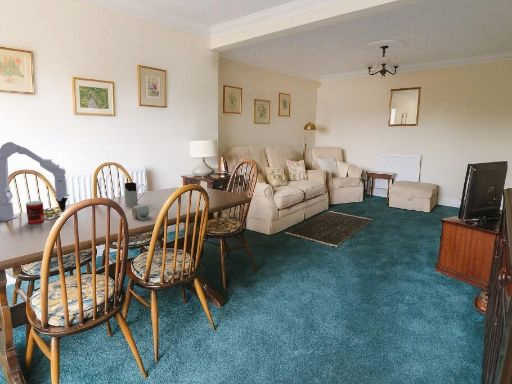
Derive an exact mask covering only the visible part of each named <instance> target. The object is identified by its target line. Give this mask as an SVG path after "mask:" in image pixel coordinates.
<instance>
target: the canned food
mask: <svg viewBox="0 0 512 384" xmlns="http://www.w3.org/2000/svg"><path fill="white" fill-rule="evenodd" d="M43 209H44V203H43V201H41V200H32V201H28V202H26V203H25V210H26V217H27V222H28V224H31V225H35V224H36V225H37V224H42V223H44V222H45V219H44V210H43Z"/></svg>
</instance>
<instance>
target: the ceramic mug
mask: <svg viewBox="0 0 512 384" xmlns="http://www.w3.org/2000/svg"><path fill="white" fill-rule="evenodd" d="M131 214H132V217H133V218H134V219H139V220H141V221H146V220H148V218H149V215H150V209H149V207H148V205H147V204H146V203H143V204H138V205H137V206H132V208H131Z"/></svg>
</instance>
